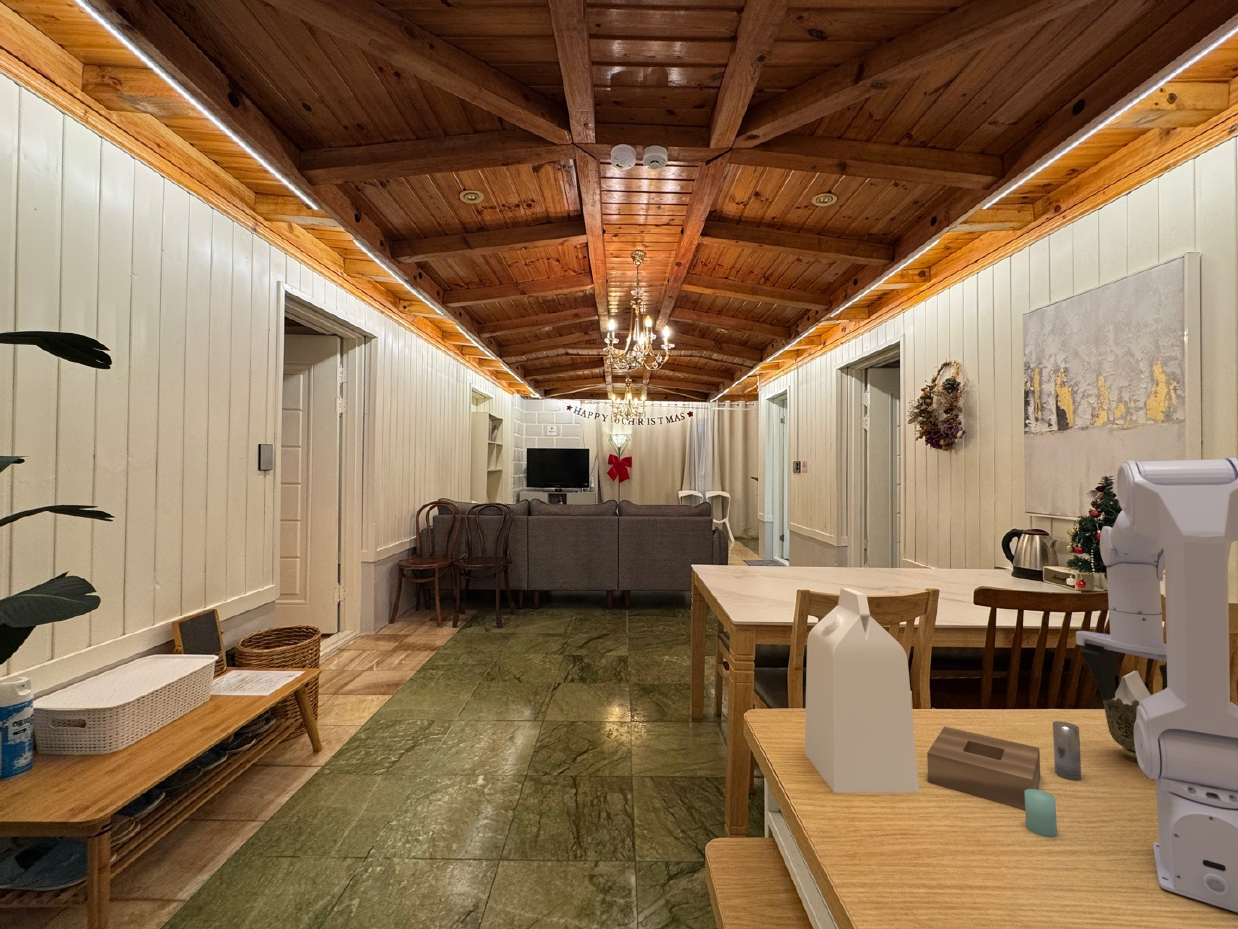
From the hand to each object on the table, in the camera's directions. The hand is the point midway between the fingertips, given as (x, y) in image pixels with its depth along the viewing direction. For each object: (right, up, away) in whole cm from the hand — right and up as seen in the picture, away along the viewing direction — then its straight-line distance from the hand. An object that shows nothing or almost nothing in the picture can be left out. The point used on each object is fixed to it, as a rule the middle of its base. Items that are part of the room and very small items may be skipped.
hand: (1140, 707), depth 81 cm
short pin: (-24, -9, -13) cm, 29 cm away
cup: (+4, -10, +5) cm, 12 cm away
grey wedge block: (+12, -11, +14) cm, 21 cm away
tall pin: (-10, -10, 0) cm, 14 cm away
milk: (-40, -10, +1) cm, 41 cm away
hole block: (-23, -10, -1) cm, 25 cm away
